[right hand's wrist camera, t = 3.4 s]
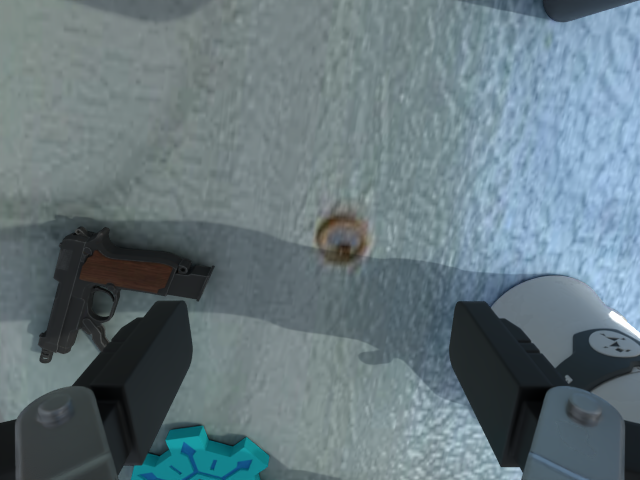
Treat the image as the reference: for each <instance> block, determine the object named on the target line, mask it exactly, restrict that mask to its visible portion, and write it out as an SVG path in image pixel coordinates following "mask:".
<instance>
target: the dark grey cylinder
mask: <svg viewBox="0 0 640 480" xmlns="http://www.w3.org/2000/svg"><path fill="white" fill-rule="evenodd" d="M635 1H638V0H543V4H544V8H545V11H546V12H547V14H548V15H549V16H550V17H551V18H552V19H554V20H556V21H559V22H568V21H572V20H575V19H578V18H582V17H585V16H588V15H592V14H595V13H598V12H602V11H605V10H608V9H612V8H615V7H618V6H622V5H625V4H628V3H632V2H635Z"/></svg>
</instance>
